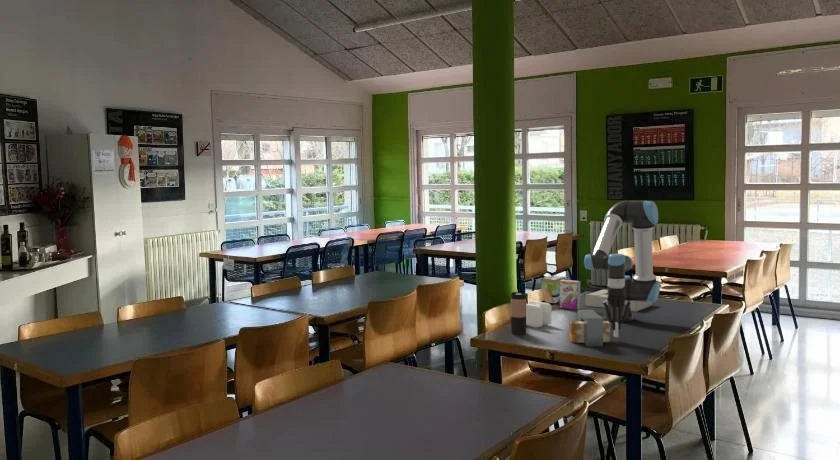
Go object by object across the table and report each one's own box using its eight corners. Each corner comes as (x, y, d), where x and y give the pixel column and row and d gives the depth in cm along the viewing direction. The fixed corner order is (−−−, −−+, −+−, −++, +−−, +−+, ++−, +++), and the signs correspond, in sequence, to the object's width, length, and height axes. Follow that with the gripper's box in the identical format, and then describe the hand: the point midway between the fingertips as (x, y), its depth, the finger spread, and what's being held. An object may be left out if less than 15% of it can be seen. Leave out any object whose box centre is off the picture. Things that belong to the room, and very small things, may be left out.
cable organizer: (553, 326, 359) (553, 304, 358) (539, 329, 352) (539, 306, 351) (531, 321, 370) (531, 300, 369) (517, 324, 363) (517, 302, 362)
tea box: (556, 303, 420) (556, 279, 418) (540, 302, 425) (540, 278, 424) (565, 299, 432) (565, 276, 431) (549, 298, 438) (549, 275, 436)
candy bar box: (558, 308, 405) (559, 280, 403) (562, 307, 409) (562, 279, 407) (577, 310, 399) (577, 282, 397) (580, 308, 403) (580, 280, 401)
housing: (592, 336, 336) (592, 309, 335) (602, 346, 316) (603, 318, 315) (577, 336, 336) (577, 309, 335) (587, 346, 316) (587, 318, 315)
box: (652, 306, 410) (601, 300, 430) (652, 293, 409) (601, 287, 430) (637, 313, 392) (584, 306, 412) (637, 300, 391) (584, 293, 412)
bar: (607, 339, 328) (607, 321, 327) (610, 342, 324) (610, 323, 323) (569, 340, 328) (569, 321, 327) (571, 342, 324) (571, 323, 323)
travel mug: (509, 331, 348) (509, 292, 346) (524, 331, 348) (524, 291, 346) (512, 335, 340) (512, 294, 338) (528, 334, 341) (528, 294, 339)
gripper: (604, 288, 320) (604, 338, 322) (632, 288, 320) (632, 338, 322) (600, 286, 327) (600, 335, 329) (627, 285, 327) (627, 334, 329)
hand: (615, 336), depth 326 cm, fingers closed
